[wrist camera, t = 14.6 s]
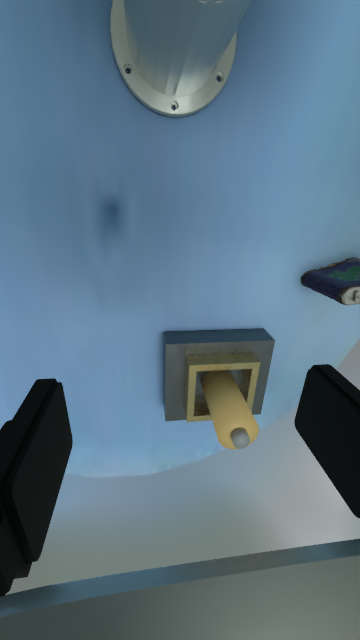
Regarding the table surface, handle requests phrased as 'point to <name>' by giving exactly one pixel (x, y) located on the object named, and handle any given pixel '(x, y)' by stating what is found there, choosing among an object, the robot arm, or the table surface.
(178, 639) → the robot arm
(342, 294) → the wallet
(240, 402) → the cylinder
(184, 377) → the grey square socket base
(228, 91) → the table surface
